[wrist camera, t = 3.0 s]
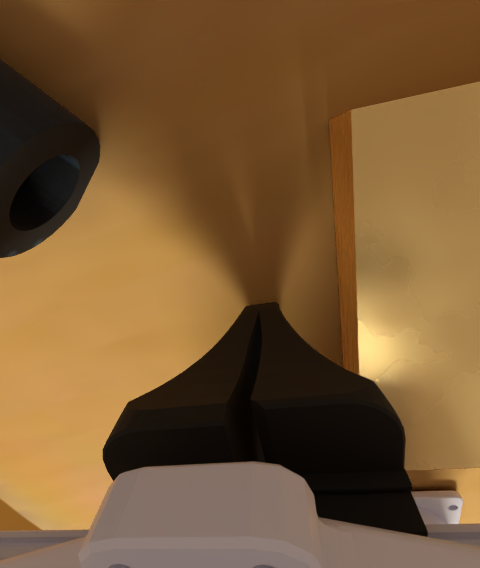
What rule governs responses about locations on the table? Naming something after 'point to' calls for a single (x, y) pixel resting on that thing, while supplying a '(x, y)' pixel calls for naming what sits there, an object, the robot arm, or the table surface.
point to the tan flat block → (414, 264)
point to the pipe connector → (39, 163)
